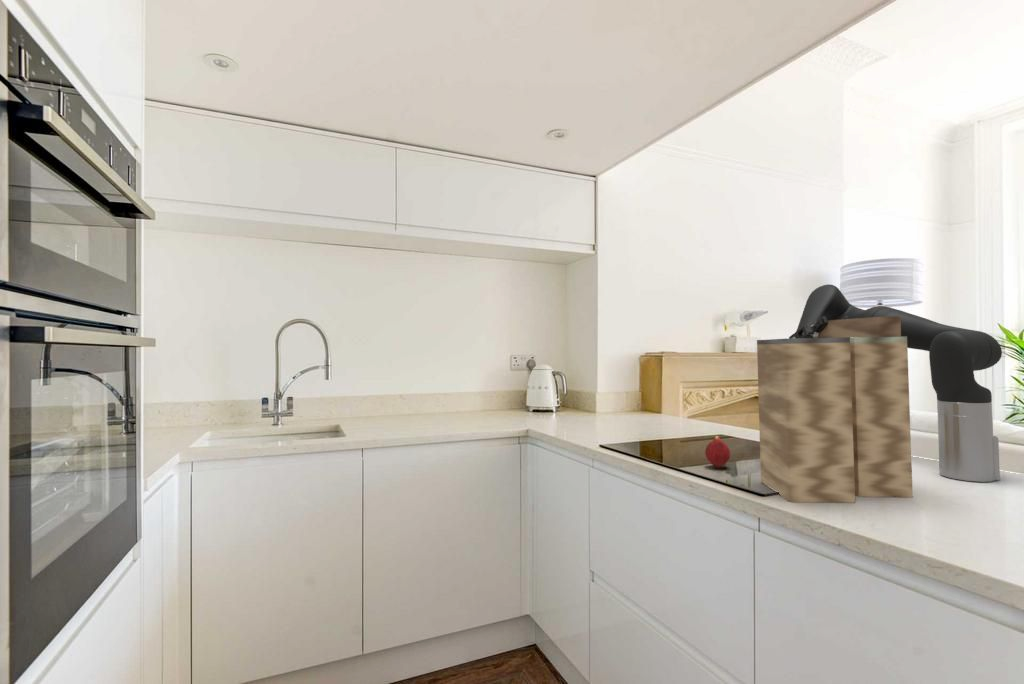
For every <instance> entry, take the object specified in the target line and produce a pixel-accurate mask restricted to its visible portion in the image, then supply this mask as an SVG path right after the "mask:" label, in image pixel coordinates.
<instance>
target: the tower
mask: <svg viewBox="0 0 1024 684" xmlns="http://www.w3.org/2000/svg"><path fill="white" fill-rule="evenodd" d="M908 353H909V352H908V348H907V336H906V337H851V338H850V359H851V389H852V420H853V450H854V481H855V496H857V497H860V498H861V497H863V498H865V497H867V498H875V497H876V498H877V497H878V498H913V494H914V493H913V472H912V471H913V467H912V444H911V443H912V441H911V435H912V434H911V415H910V414H911V412H910V409H911V408H910V407H911V406H910V384H909V383H910V382H909V359H908V358H909V356H908V355H909V354H908ZM894 496H895V497H894Z"/></svg>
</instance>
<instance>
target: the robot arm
mask: <svg viewBox="0 0 1024 684" xmlns="http://www.w3.org/2000/svg"><path fill="white" fill-rule="evenodd" d="M891 316H900V317H901V337H906V336H907V349H910V350H911V349H913V350H920V351H924V352H925V351H926V352H928V354H929V356H928V357H929V369H930V379H931V386H932V387H933V388H932V389H933V390H934V392H935V394H936V405H937V406H936V410H937V433H938V437H937V439H938V462H939V464H938V466H939V475H940V476H943V477H946V478H950V479H953V480H954V479H955V480H960V481H967V482H978V483H979V482H981V483H987V482H994V481H1000V480H1001V475H1000V473H1001V471H1000V468H1001V467H1000V447H999V437H998V436H997V435H994V424H993V420H994V419H993V418H994V417H993V402H992V401H993V399H992V392H991V390H990V389H989V388H987V387H985V386H982V385H981V384H979V383H978V381H976V378H975V372H976V371H977V372H978V371H983V370H987V369H989V368H992V367H993V366H995V365H996V364H998V362H999V361H1000V360H1001V358H1002V356H1003V350H1002V347H1001V344H1000V343H999V342H998V340H997V339H996V338H995V337H993V336H992V335H991V334H989V333H986V332H983V331H980V330H974V329H968V328H964V327H963V328H961V327H957V326H952V325H947V324H943V323H939V322H937V321H933V320H931V319H929V318H925V317H922V316H919V315H916V314H912V313H909V312H908V311H907V312H906V311H903V310H900V309H897V308H892V307H891V306H890V307H889V306H886V305H885V306H884V305H879V306H878V305H877V306H872V307H870V308H867V309H862V308H859V307H857V306H855V305H852V303H850V302H849V301H848V299H847V298H846V297H845V296H844V294H843V293H842V291H841V290H840V288H838V287H837V286H836V285H833V284H823V285H820V286H818V287H817V288H815V289H814V290H813V291H811V293H810V294H809V295H808V298H807V300H806V303H805V305H804V308H803V312H802V314H801V317H800V319H799V323H798V325H797V328H796V331H794V333H793V334H791V335H790V336H788V339H793V338H818V336H819V332H822V331H823V329H824V328H825V327H826V326H827V325H828V322H827V321H828V320H842V319H856V318H869V317H891ZM815 321H817V322H816V323H815ZM850 338H852V337H850Z"/></svg>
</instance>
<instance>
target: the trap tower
mask: <svg viewBox="0 0 1024 684" xmlns="http://www.w3.org/2000/svg"><path fill="white" fill-rule="evenodd" d="M756 350H757V351H756V353H757V354H756V355H757V357H756V358H757V359H756V360H757V388H758V391H757V393H758V419H759V420H758V421H759V422H758V423H759V424H758V427H759V429H758V430H759V454H760V456H759V459H760V462H759V463H760V483H761V482H762V483H764V484H766V485H767V486H769V487H771V488H773V489H774V490H776V491H778V492H779V494H780V495H781V496H780V495H779V494H778V495H779V496H780V497H782V498H784V499H785V500H787V501H788V502H790V503H854V504H856V495H855V481H854V450H853V420H852V389H851V359H850V337H842V338H793V339H789V338H776V339H775V338H773V339H771V338H770V339H757V340H756ZM762 483H761V484H762ZM764 484H763V485H764ZM767 486H766V487H767Z"/></svg>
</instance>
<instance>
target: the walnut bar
mask: <svg viewBox="0 0 1024 684" xmlns="http://www.w3.org/2000/svg"><path fill="white" fill-rule="evenodd" d="M816 322H817V321H815V323H816ZM827 322H828V325H827V326H826V327H825V328H824V329H823V331H822V332H819V336H818V338H842V337H851V338H857V337H901V317H900V316H891V317H869V318H856V319H842V320H828V321H827Z"/></svg>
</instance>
